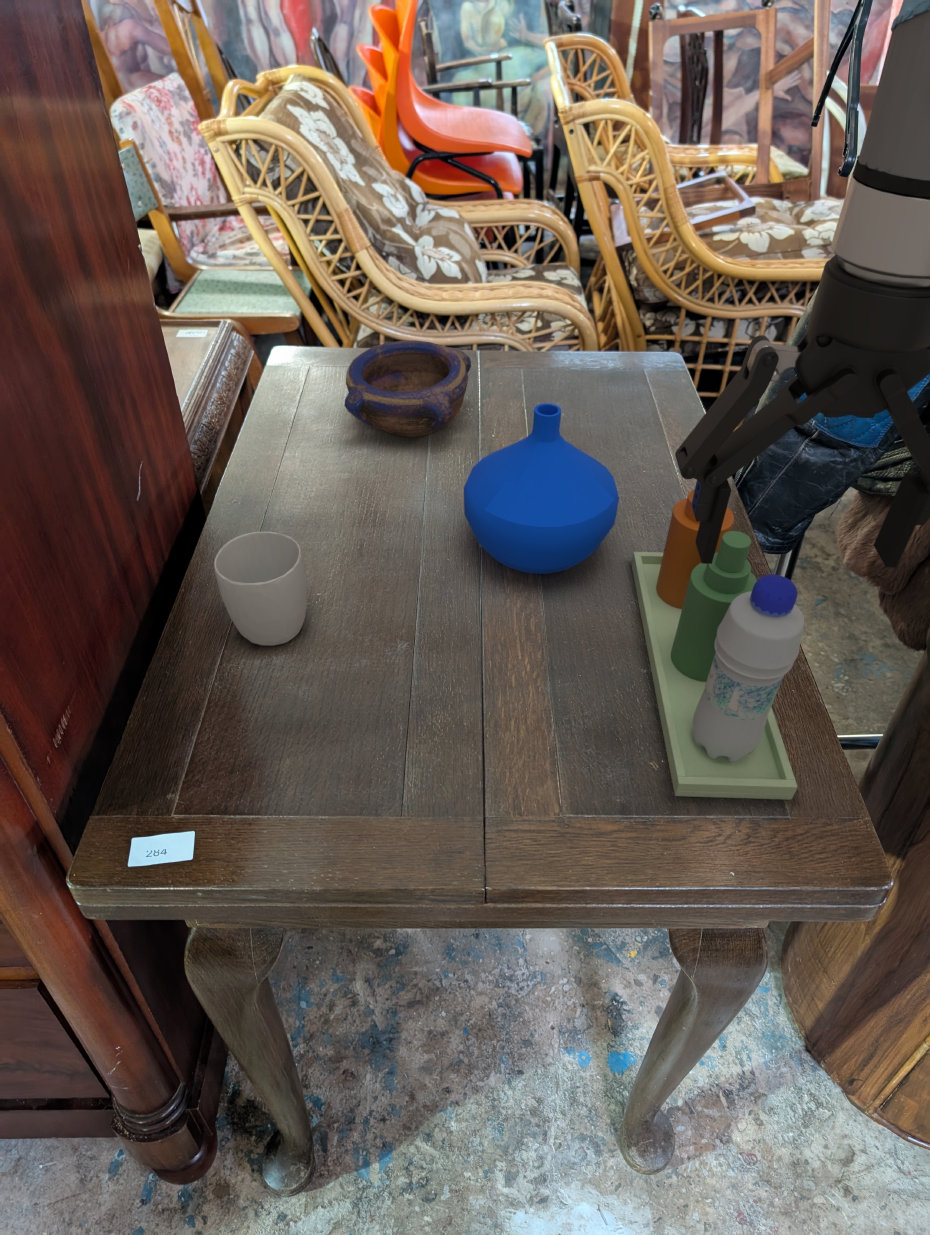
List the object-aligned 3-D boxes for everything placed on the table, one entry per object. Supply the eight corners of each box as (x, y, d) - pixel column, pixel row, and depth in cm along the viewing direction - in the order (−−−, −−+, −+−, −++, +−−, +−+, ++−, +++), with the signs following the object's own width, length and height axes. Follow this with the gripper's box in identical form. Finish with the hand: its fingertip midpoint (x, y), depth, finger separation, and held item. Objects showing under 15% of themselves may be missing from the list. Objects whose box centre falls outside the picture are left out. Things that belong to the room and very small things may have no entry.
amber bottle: (720, 607, 90) (756, 488, 79) (666, 612, 90) (694, 493, 79) (700, 571, 95) (731, 455, 84) (648, 576, 94) (673, 459, 83)
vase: (475, 604, 92) (478, 461, 79) (453, 512, 105) (452, 377, 92) (628, 589, 94) (656, 447, 81) (588, 501, 107) (605, 366, 94)
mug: (312, 652, 86) (299, 581, 79) (227, 658, 85) (207, 587, 78) (315, 577, 95) (304, 508, 88) (239, 582, 94) (222, 512, 88)
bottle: (702, 704, 80) (753, 546, 66) (767, 735, 77) (834, 576, 63) (674, 747, 76) (721, 588, 62) (741, 782, 73) (806, 623, 59)
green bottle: (741, 678, 82) (784, 557, 71) (682, 684, 81) (716, 563, 71) (718, 635, 87) (755, 516, 76) (662, 641, 86) (691, 521, 75)
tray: (791, 800, 72) (798, 787, 71) (674, 796, 72) (678, 783, 71) (718, 566, 97) (721, 553, 95) (631, 564, 97) (633, 551, 96)
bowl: (333, 447, 117) (325, 383, 110) (372, 391, 130) (367, 331, 123) (451, 462, 114) (450, 398, 107) (479, 403, 127) (480, 343, 120)
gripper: (1081, 244, 48) (940, 528, 63) (668, 240, 49) (623, 522, 63) (1156, 290, 43) (983, 590, 57) (690, 284, 43) (634, 582, 58)
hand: (793, 554), depth 60 cm, fingers open, 13 cm apart
